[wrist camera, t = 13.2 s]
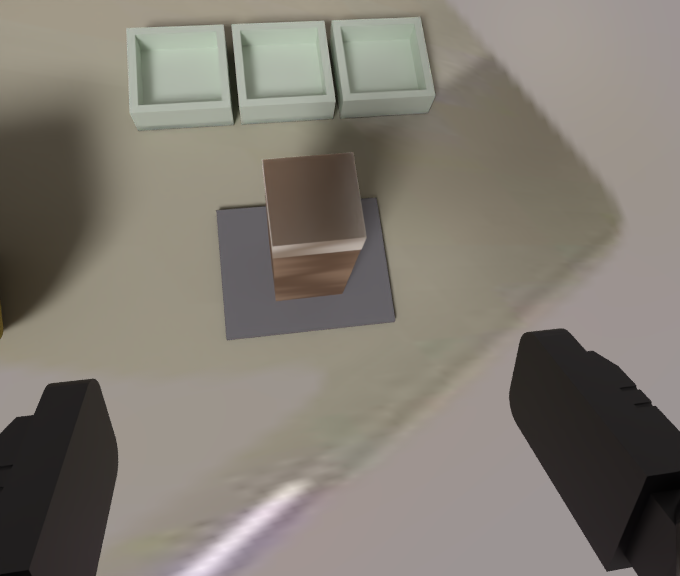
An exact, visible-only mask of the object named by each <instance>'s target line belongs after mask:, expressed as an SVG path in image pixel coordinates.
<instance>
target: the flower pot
mask: <svg viewBox="0 0 680 576" xmlns="http://www.w3.org/2000/svg"><path fill="white" fill-rule="evenodd" d="M2 335H3V320H2V312H1V302H0V338H1V337H2Z"/></svg>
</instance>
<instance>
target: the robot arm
mask: <svg viewBox="0 0 680 576" xmlns="http://www.w3.org/2000/svg"><path fill="white" fill-rule="evenodd" d="M509 400H510V408H511V412H512V415H513V417H514V420H515V422H516V424H517V425H518V427H519V429H520V430H521V432H522V434H523V435H524V437H525V439H526V440H527V442H528V443H529V445H530V447H531V448H532V450H533V451H534V453H535V455H536V457H537V458H538V460H539V461H540V463H541V465H542V466H543V468H544V470H545V471H546V473H547V475H548V476H549V478H550V479H551V481H552V483H553V484H554V486H555V488H556V489H557V491H558V492H559V494H560V496H561V497H562V499H563V501H564V502H565V504H566V505H567V507H568V509H569V511H570V512H571V514H572V515H573V517H574V519H575V520H576V522H577V524H578V525H579V527H580V528H581V530H582V532H583V533H584V535H585V537H586V538H587V540H588V541H589V543H590V545H591V547H592V548H593V550H594V551H595V553H596V555H597V556H598V558H599V560H600V561H601V563H602V564H603V566H604V568H605V569H606V571H613V570H618V569H624V568H630V567H633V569H634V570H635V572H636V573H637V575H638V576H680V431H679V430H678V429H677V428H676V427H675V426H674V425H673V424H672V423H671V422H670V421H669V420H668V419H667V418H666V416H665V415H664V414H663V413H662V412H661V411H660V410H659V409H658V408H657V407H656V406H652V404H651V400H650V399H649V398H648V397H646V395H645V394H644V393H643V392H642V391H641V390H637V388H636V385H635V383H634V382H633V381H632V380H631V379H630V378H629V377H628V376H627V375H626V374H625V373H624V372H623V371H622V370H621V369H620V368H619V366H617V365H615V364H613V363H612V362H610V361H609V360H607V359H605V358H604V357H602V356H601V355H599V354H597V353H596V352H594V351H588V352H587V351H586V350H585V349H584V348H583V347H582V346H581V345H580V344H579V343H578V341H577V340H576V339H575V338H574V337H573V336H572V335H571V334H570V333H569V332H568V331H567V330H565V329H551V330H542V331H533V332H526V333H524V334H523V335H522V337H521V339H520V343H519V348H518V353H517V357H516V362H515V367H514V372H513V377H512V381H511V386H510V392H509ZM117 471H118V448H117V443H116V438H115V434H114V431H113V428H112V424H111V421H110V418H109V414H108V411H107V408H106V404H105V401H104V398H103V395H102V391H101V388H100V385H99V383H98V381H97V380H96V379H86V380H77V381H68V382H59V383H51V384H48V385H47V386H46V388H45V390H44V392H43V394H42V397H41V399H40V401H39V404H38V406H37V408H36V411H35V413H34V415H31V416H22V417H16V418H15V419H14V420H13V421H12V422H11V423H10V424H9V425H8V426H7V427H6V428H5V429H4V430H3V432H1V434H0V576H96V572H97V567H98V562H99V558H100V553H101V548H102V543H103V539H104V534H105V529H106V524H107V520H108V514H109V510H110V505H111V500H112V496H113V491H114V486H115V481H116V477H117Z"/></svg>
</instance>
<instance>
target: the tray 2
mask: <svg viewBox="0 0 680 576" xmlns="http://www.w3.org/2000/svg"><path fill="white" fill-rule="evenodd" d="M231 25H232V36H233V46H234V57H235V68H236V78H237V89H238V99H239V109H240V116H241V124H257V123H274V122H290V121H307V120H323V119H333V115H334V109H335V103H336V100H335V93H334V86H333V79H332V72H331V65H330V58H329V51H328V44H327V37H326V30H325V23H324V21H302V22H276V23H250V24H231Z"/></svg>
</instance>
